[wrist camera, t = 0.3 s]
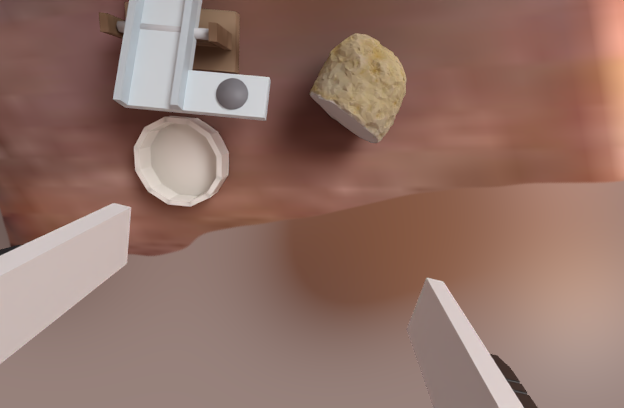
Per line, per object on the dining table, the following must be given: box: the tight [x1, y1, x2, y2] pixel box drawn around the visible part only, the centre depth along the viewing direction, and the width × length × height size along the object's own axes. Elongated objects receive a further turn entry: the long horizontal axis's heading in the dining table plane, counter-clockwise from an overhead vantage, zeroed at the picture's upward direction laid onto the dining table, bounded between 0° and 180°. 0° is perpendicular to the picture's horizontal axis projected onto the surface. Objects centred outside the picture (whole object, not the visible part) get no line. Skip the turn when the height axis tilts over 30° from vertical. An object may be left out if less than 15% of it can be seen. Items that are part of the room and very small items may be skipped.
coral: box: [309, 33, 406, 143], centre depth 34 cm, size 10×10×10 cm
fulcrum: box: [99, 2, 240, 74], centre depth 34 cm, size 6×12×6 cm, turn 85°
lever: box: [113, 0, 271, 121], centre depth 32 cm, size 20×15×3 cm
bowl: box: [134, 116, 229, 207], centre depth 40 cm, size 10×10×3 cm
